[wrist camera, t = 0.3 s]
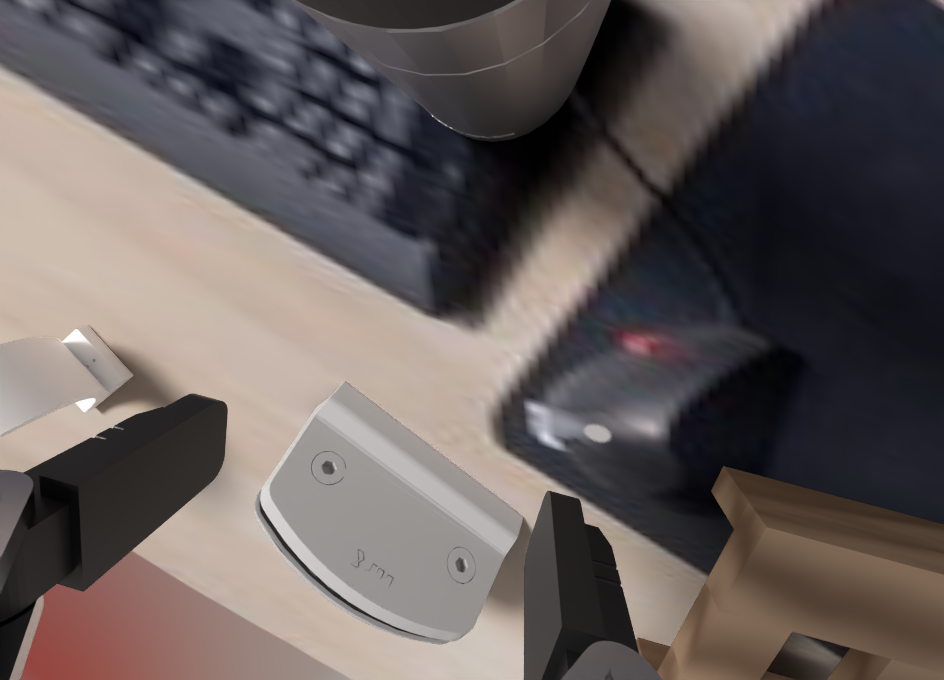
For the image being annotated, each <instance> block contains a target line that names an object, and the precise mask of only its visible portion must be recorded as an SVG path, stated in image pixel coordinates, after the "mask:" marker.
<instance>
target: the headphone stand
mask: <svg viewBox="0 0 944 680" xmlns="http://www.w3.org/2000/svg"><path fill="white" fill-rule="evenodd" d="M133 376H134V375H133V374H132V373H131V372H130V371H129V369H128V368H127V367H126V366H125V365H124V364H123V363H122V362H121V361H120V360H119V359H118V357H117V356H116V355H115V354H114V353H113V352H112V351H111V350H110V349H109V348H108V346H107V345H106V344H105V343H104V342H103V341H102V340H101V339H100V338H99V337H98V336H97V334H96V333H95V332H94V331H93V330H92V329H91V328H90V327H89V326H88V325H87V326H83V327H80V328H77V329H75V330H74V331H73V332H72V333H71V334H70V335H69V336H68V337H67V338H66V339H65V340H64V341H63V342H61V341H60V340H59V339H58V338H56V337H50V336H42V337H32V338H26V339H21V340H16V341H12V342H8V343H4V344H0V438H1V437H3V436H5V435H7V434H9V433H11V432H12V431H14V430H16V429H18V428H20V427H22V426H24V425H26V424H28V423H30V422H32V421H34V420H36V419H38V418H40V417H43V416H45V415H47V414H49V413H51V412H53V411H56V410H58V409H60V408H63V407H65V406H68V405H70V404H73V403H76V404H77V405H78V406H79V407H80V409H81V410H82V411H83V412H84V413H85V412H87V411H89V410H91V409H93V408H95V407H96V406H98V405H99V404H100V403H101V402H103V401H104V400H105V399H106V398H107V397H109V396H110V395H111V394H112V393H113V392H115V391H116V390H117V389H118V388H120V387H121V386H122V385H123V384H124V383H126V382H127V381H128V380H129V379H130V378H132V377H133Z"/></svg>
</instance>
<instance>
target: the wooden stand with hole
mask: <svg viewBox="0 0 944 680" xmlns="http://www.w3.org/2000/svg"><path fill="white" fill-rule="evenodd" d="M711 492H712V494H713V495H714V497H715V498H716V500H717V502H718V503H719V505H720V507H721V508H722V510H723V512H724V513H725V515H726V517H727V518H728V520H729V522H730V523H731V525H732V527H733V528H734V531H733V532H732V534H731V536H730V538H729V540H728V542H727V544H726V545H725V547H724V549H723V551H722V553H721V555H720V556H719V558H718V560H717V562H716V564H715V566H714V568H713V569H712V571H711V573H710V575H709V577H708V579H707V580H706V582H705V584H704V586H703V588H702V590H701V592H700V593H699V595H698V597H697V599H696V601H695V603H694V604H693V606H692V608H691V610H690V612H689V614H688V616H687V617H686V619H685V621H684V623H683V625H682V627H681V629H680V630H679V632H678V634H677V636H676V638H675V640H674V641H673V643H672V645H671V647H668V646H665V645H661V644H658V643H654V642H651V641H647V640H644V639H640V638H637V640H636V643H637V647H638V651H639V654H640V655H641V656H642V657H643V658H644V659H646V660H647V661H648V662H649V663H650V664H651V665H652V667H653V668H654V669H655V670H656V671H657V673H658V674H659V676H660V677H661V678H662V680H796V679H792V678H788V677H785V676H781V675H778V674H774V673H771V672H767V671H766V670H767V669H768V667H769V666H770V664H771V663H772V661H773V660H774V658H775V657H776V655H777V654H778V652H779V651H780V649H781V648H782V646H783V645H784V643H785V642H786V640H787V639H788V637H789V636H790V634H791V633H792V632H796V633H799V634H803V635H806V636H810V637H813V638H817V639H821V640H824V641H828V642H831V643H835V644H838V645H842V646H846V647H849V648H850V649H849V651H848V652H847V653H846V655H845V656H844V657H843V659H842V660H841V661H840V663H839V664H838V665H837V667H836V668H835V670H834V671H833V672H832V674H831V675H830V676H829V678H828V679H827V680H944V524H941V523H937V522H933V521H930V520H926V519H922V518H918V517H914V516H911V515H907V514H903V513H899V512H895V511H892V510H888V509H884V508H880V507H876V506H873V505H869V504H865V503H861V502H857V501H854V500H850V499H846V498H842V497H838V496H835V495H831V494H827V493H823V492H819V491H816V490H812V489H808V488H804V487H800V486H797V485H793V484H789V483H785V482H781V481H778V480H774V479H770V478H766V477H763V476H759V475H755V474H751V473H747V472H744V471H740V470H736V469H732V468H728V467H725V466H723V468H722V470H721V472H720V474H719V476H718V478H717V480H716V482H715V484H714V486H713V488H712V490H711Z"/></svg>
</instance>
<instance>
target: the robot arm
mask: <svg viewBox="0 0 944 680" xmlns="http://www.w3.org/2000/svg"><path fill="white" fill-rule="evenodd" d="M291 1H293V2H294V3H295V4H296V5H298V6H299V7H300V8H301V9H303V10H304V11H305V12H306V13H308V14H309V15H310V16H311V17H312V18H314V19H315V20H316V21H317V22H319V23H320V24H321V25H322V26H324V27H325V28H326V29H327V30H329V31H330V32H331V33H332V34H334V35H335V36H336V37H337V38H339V39H340V40H341V41H342V42H343V43H345V44H346V45H347V46H348V47H350V48H351V49H352V50H353V51H355V52H356V53H357V54H358V55H360V56H361V57H362V58H363V59H365V60H366V61H367V62H368V63H369V64H371V65H372V66H373V67H374V68H376V69H377V70H378V71H379V72H380V73H382V74H383V75H384V76H385V77H387V78H388V79H389V80H390V81H391V82H393V83H394V84H395V85H396V86H398V87H399V88H400V89H401V90H403V91H404V92H405V93H406V94H407V95H409V96H410V97H411V98H412V99H414V100H415V101H416V102H417V103H418V104H420V105H421V106H422V107H423V108H425V109H426V110H427V111H428V112H429V113H431V115H432V116H433V117H434V118H435V119H437V120H438V121H439V122H440V123H442V124H443V125H445V126H446V127H448V128H450V129H452V130H454V131H455V132H457V133H458V134H461V135H464V136H467V137H469V138H472V139H475V140H483V141H491V142H495V141H503V140H511V139H514V138H517V137H520V136H522V135H525V134H528V133H530V132H531V131H533V130H535V129H536V128H538V127H539V126H541V125H543V124H544V123H546V122H547V121H548V120H549V119H550V118H551V117H552V116H553V115H554V114H555V113H556V112H557V111H558V110H559V109H560V108H561V107H562V105H563V104H564V102H565V101H566V100H567V98H568V97H569V95H570V94H571V93H572V91H573V88H574V86H575V84H576V82H577V80H578V78H579V76H580V73H581V71H582V69H583V66H584V64H585V62H586V60H587V57H588V55H589V53H590V50H591V48H592V45H593V43H594V40H595V38H596V36H597V33H598V31H599V28H600V26H601V23H602V21H603V19H604V16H605V14H606V11H607V9H608V6H609V4H610V2H611V0H291ZM227 414H228V409H227V405H226V404H225V402H223V401H219V400H216V399H212V398H208V397H205V396H201V395H197V394H189V395H187V396H185V397H183V398H181V399H179V400H177V401H175V402H174V403H172V404H170V405H168V406H166V407H161V408H158V409H154V410H150V411H147V412H143V413H139V414H136V415H134V416H132V417H130V418H128V419H126V420H124V421H122V422H120V423H118V424H117V425H115V426H114V428H113V429H112V428H109V429H107V430H105V431H103V432H101V433H99V434H97V435H96V437H95V438H89V439H88V440H86V441H84V442H82V443H80V444H78V445H76V446H74V447H72V448H70V449H68V450H66V451H64V452H62V453H60V454H59V455H57V456H55V457H53V458H51V459H49V460H47V461H45V462H43V463H41V464H39V465H37V466H35V467H33V468H32V469H30V470H28V471H26V472H24V473H21V472H17V471H11V470H0V680H20V677H21V674H22V671H23V668H24V665H25V662H26V659H27V656H28V653H29V650H30V646H31V643H32V640H33V637H34V634H35V631H36V628H37V625H38V622H39V619H40V616H41V613H42V609H43V605H44V601H43V594H44V593H46V592H47V591H48V590H49V589H51V588H52V587H53V586H55V585H56V584H60V585H63V586H66V587H70V588H73V589H76V590H80V591H85V590H86V589H87V588H88V587H89V586H91V585H92V584H93V583H94V582H95V581H96V580H98V579H99V578H100V577H101V576H102V575H103V574H105V573H106V572H107V571H108V570H109V569H111V568H112V567H113V566H114V565H115V564H116V563H118V562H119V561H120V560H121V559H122V558H123V557H125V556H126V555H127V554H128V553H129V552H130V551H132V550H133V549H134V548H135V547H136V546H137V545H139V544H140V543H141V542H142V541H143V540H144V539H146V538H147V537H148V536H149V535H150V534H151V533H153V532H154V531H155V530H156V529H157V528H158V527H160V526H161V525H162V524H163V523H164V522H165V521H167V520H168V519H169V518H170V517H171V516H172V515H174V514H175V513H176V512H177V511H178V510H179V509H181V508H182V507H183V506H184V505H185V504H186V503H188V502H189V501H190V500H191V499H192V498H193V497H195V496H196V495H197V494H198V493H199V492H200V491H202V490H203V489H204V488H205V487H206V486H207V485H209V484H210V483H211V482H212V481H213V480H214V479H215V477H216V476H217V474H218V473H219V471H220V469H221V467H222V464H223V461H224V456H225V443H226V428H227ZM616 567H617V566H616V562H615V558H614V554H613V550H612V546H611V545H610V543H609V542H608V541H607V539H606V538H605V536H604V535H603V533H602V532H601V531H600V529H599V528H598V527H595V526H591V525H588V524H585V523H584V518H583V512H582V507H581V502H580V500H579V499H577V498H574V497H570V496H566V495H563V494H559V493H555V492H552V491H547V492H546V494H545V497H544V499H543V502H542V505H541V508H540V511H539V514H538V517H537V520H536V523H535V526H534V529H533V532H532V535H531V538H530V541H529V545H528V549H527V553H526V559H525V568H524V680H662V678H661V677H660V676H659V674H658V673H657V671H656V670H655V669H654V668H653V667H652V665H651V664H650V663H649V662H648V661H647V660H646V659H644V658H643V657H642V656H641V655H640V654H639V651H638V647H637V643H636V639H635V635H634V631H633V627H632V624H631V620H630V616H629V612H628V608H627V604H626V600H625V597H624V593H623V589H622V587H621V586H620V585H621V581H620V577H619V573H618V570H616Z"/></svg>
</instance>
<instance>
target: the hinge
mask: <svg viewBox="0 0 944 680" xmlns="http://www.w3.org/2000/svg"><path fill="white" fill-rule="evenodd" d="M255 517H256V520H257V521H258V523H259V524H260V526H261V528H262V529H263V531H264V533H265V534H266V536H267V537H268V539H269V540H270V541H271V543H272V544H273V545H274V547H275V548H276V550H277V551H278V552H279V554H280V555H281V556H282V557H283V558H284V560H285V561H286V562H287V563H288V564H289V565H290V567H291V568H292V569H293V570H294V571H295V572H296V573H297V574H298V575H299V576H300V577H301V578H302V579H303V580H304V581H305V582H306V583H308V584H309V585H310V586H311V587H312V588H313V589H314V590H316V591H317V592H318V593H319V594H320V595H322V596H323V597H324V598H326V599H327V600H328V601H330V602H331V603H332V604H334V605H335V606H337V607H338V608H340V609H341V610H343V611H345V612H346V613H348V614H349V615H351V616H353V617H355V618H357V619H359V620H361V621H362V622H364V623H366V624H369V625H371V626H373V627H376V628H378V629H380V630H383V631H386V632H389V633H392V634H395V635H397V636H401V637H405V638H408V639H412V640H417V641H422V642H428V643H433V644H446V643H448V642H450V641H456V640H458V639H460V638H462V637H463V636H464V635H466V634H467V633H468V632H469V631H470V630H471V629H472V628H473V627H474V625H475V623H476V621H477V618H478V616H479V614H480V612H481V609H482V607H483V605H484V602H485V600H486V598H487V596H488V593H489V591H490V589H491V587H492V584H493V582H494V580H495V578H496V575H497V573H498V571H499V569H500V566H501V564H502V562H503V560H504V557H505V556H506V554H507V553H508V551H509V550H510V548H511V547H512V545H513V544H514V543H515V541H516V540H517V538H518V535H519V532H520V528H521V525H522V521H523V516H521V515H520V514H519V513H518V512H516V511H515V510H514V509H512V508H511V507H510V506H508V505H507V504H506V503H504V502H503V501H502V500H500V499H499V498H498V497H497V496H495V495H494V494H493V493H491V492H490V491H489V490H487V489H486V488H485V487H483V486H482V485H481V484H479V483H478V482H477V481H476V480H474V479H473V478H472V477H470V476H469V475H468V474H466V473H465V472H464V471H462V470H461V469H460V468H458V467H457V466H456V465H455V464H453V463H452V462H451V461H449V460H448V459H447V458H445V457H444V456H443V455H441V454H440V453H439V452H437V451H436V450H435V449H433V448H432V447H431V446H430V445H428V444H427V443H426V442H424V441H423V440H422V439H420V438H419V437H418V436H416V435H415V434H414V433H412V432H411V431H410V430H409V429H407V428H406V427H405V426H403V425H402V424H401V423H399V422H398V421H397V420H395V419H394V418H393V417H391V416H390V415H389V414H388V413H386V412H385V411H384V410H382V409H381V408H380V407H378V406H377V405H376V404H374V403H373V402H372V401H370V400H369V399H368V398H367V397H365V396H364V395H363V394H361V393H360V392H359V391H357V390H356V389H355V388H353V387H352V386H351V385H349V384H348V383H347V382H346V381H345V382H343V383H342V384H341V385H340V386H339V387H338V388H337V389H336V391H335V392H334V393H333V394H332V395H331V396H330V397H329V398H328V399H327V400H326V401H324V402H323V403H322V404H320V405H319V406H318V407H316V409H315V410H314V412H313V413H312V415H311V416H310V418H309V419H308V421H307V422H306V423H305V425H304V426H303V428H302V429H301V431H300V432H299V434H298V435H297V437H296V438H295V440H294V441H293V443H292V444H291V446H290V447H289V449H288V450H287V452H286V453H285V455H284V456H283V458H282V459H281V461H280V462H279V464H278V465H277V467H276V468H275V469H274V471H273V472H272V474H271V475H270V477H269V478H268V480H267V481H266V483H265V484H264V486H263V487H262V489H261V490H260V492H259V493H258V495H257V497H256V500H255Z"/></svg>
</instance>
